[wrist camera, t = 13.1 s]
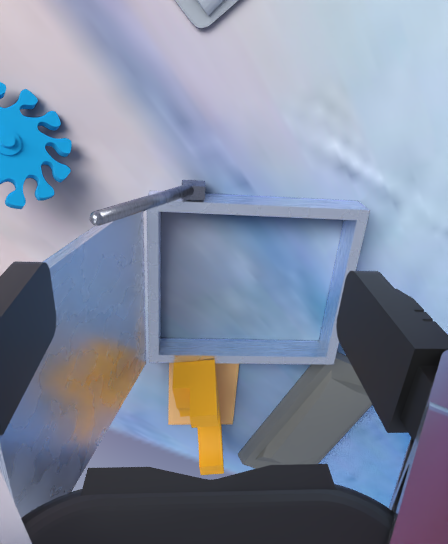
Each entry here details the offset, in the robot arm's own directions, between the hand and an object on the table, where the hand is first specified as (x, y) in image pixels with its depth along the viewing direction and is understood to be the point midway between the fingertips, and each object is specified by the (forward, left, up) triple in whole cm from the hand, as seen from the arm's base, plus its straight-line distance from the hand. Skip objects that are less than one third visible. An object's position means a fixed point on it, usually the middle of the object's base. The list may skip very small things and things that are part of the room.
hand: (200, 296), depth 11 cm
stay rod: (+3, +4, -26) cm, 27 cm away
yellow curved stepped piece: (-2, +28, -26) cm, 39 cm away
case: (-6, +14, -28) cm, 32 cm away
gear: (+15, +1, -28) cm, 32 cm away
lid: (+7, +14, -15) cm, 22 cm away
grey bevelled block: (-16, +34, -29) cm, 47 cm away
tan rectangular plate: (-2, +29, -28) cm, 41 cm away
